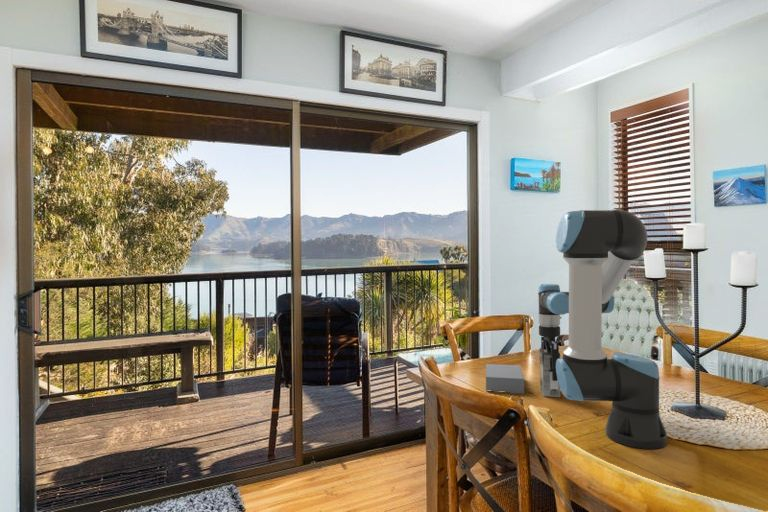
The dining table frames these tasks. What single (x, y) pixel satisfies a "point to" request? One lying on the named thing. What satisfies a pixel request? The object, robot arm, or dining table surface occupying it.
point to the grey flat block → (504, 378)
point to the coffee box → (546, 375)
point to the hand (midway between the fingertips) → (549, 384)
